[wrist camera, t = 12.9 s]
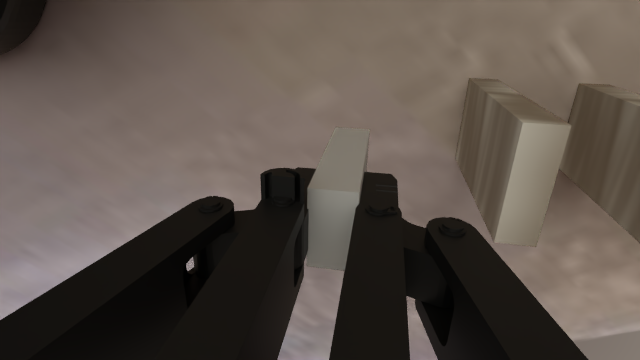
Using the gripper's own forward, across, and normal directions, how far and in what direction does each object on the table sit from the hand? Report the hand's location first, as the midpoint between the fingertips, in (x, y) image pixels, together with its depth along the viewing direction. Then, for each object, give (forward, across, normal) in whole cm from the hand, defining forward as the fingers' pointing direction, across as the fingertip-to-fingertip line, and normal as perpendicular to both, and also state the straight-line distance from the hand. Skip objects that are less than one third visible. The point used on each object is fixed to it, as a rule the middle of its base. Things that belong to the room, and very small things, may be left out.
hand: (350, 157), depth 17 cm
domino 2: (+8, +13, 0) cm, 15 cm away
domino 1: (+8, +7, 0) cm, 11 cm away
